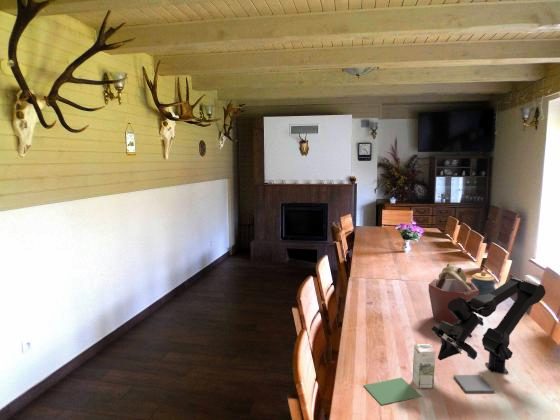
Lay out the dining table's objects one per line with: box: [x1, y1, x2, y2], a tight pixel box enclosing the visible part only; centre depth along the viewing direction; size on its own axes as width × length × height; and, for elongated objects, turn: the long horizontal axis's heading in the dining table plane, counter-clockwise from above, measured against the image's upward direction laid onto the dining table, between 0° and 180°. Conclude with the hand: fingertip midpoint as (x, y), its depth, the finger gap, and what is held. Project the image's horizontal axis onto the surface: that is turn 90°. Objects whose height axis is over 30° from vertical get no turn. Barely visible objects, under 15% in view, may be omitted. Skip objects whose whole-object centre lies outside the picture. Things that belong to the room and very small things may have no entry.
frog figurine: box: [438, 263, 468, 282], centre depth 261 cm, size 14×18×12 cm
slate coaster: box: [453, 374, 495, 394], centre depth 144 cm, size 10×10×1 cm
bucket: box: [428, 271, 479, 324], centre depth 198 cm, size 24×22×25 cm
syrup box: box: [412, 343, 436, 389], centre depth 144 cm, size 6×6×14 cm
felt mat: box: [363, 377, 423, 406], centre depth 141 cm, size 16×12×1 cm
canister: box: [469, 270, 497, 295], centre depth 226 cm, size 13×13×18 cm
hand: (438, 359), depth 146 cm, fingers closed
